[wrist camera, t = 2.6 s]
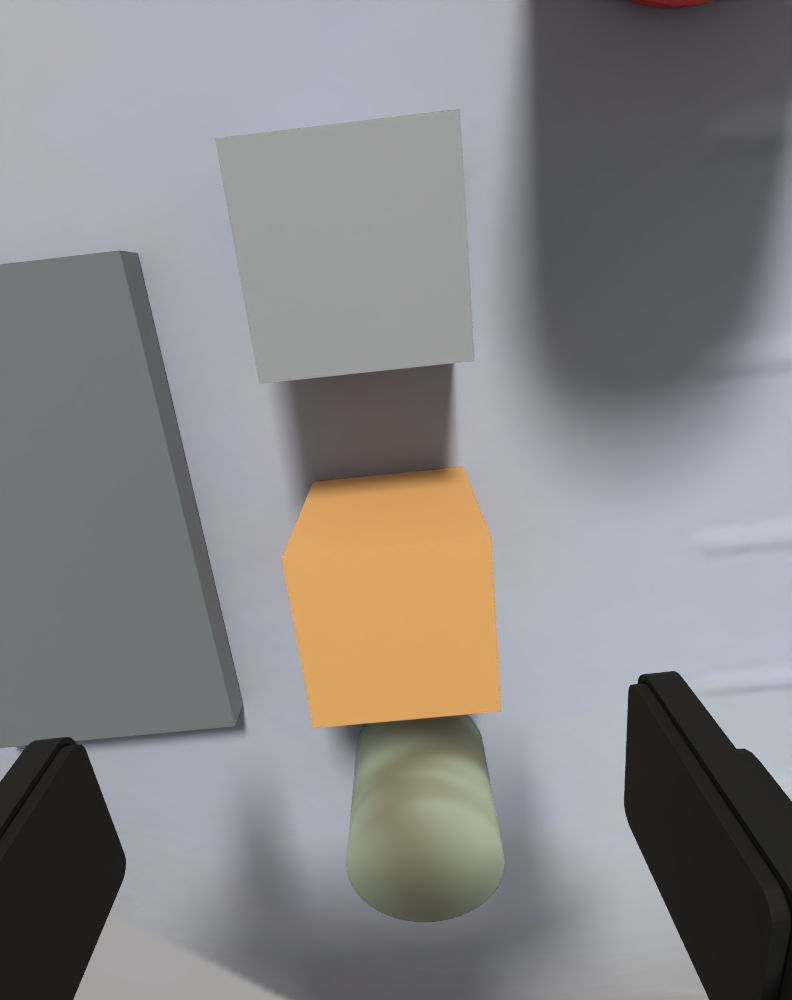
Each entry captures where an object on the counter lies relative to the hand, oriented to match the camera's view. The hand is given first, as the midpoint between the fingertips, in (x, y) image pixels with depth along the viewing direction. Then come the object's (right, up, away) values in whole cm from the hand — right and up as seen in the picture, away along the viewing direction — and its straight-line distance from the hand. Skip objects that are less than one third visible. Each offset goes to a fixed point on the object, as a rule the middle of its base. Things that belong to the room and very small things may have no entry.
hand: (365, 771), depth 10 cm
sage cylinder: (+1, -5, +13) cm, 14 cm away
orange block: (+1, +3, +10) cm, 11 cm away
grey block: (0, +12, +7) cm, 14 cm away
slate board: (-11, +4, +10) cm, 15 cm away
